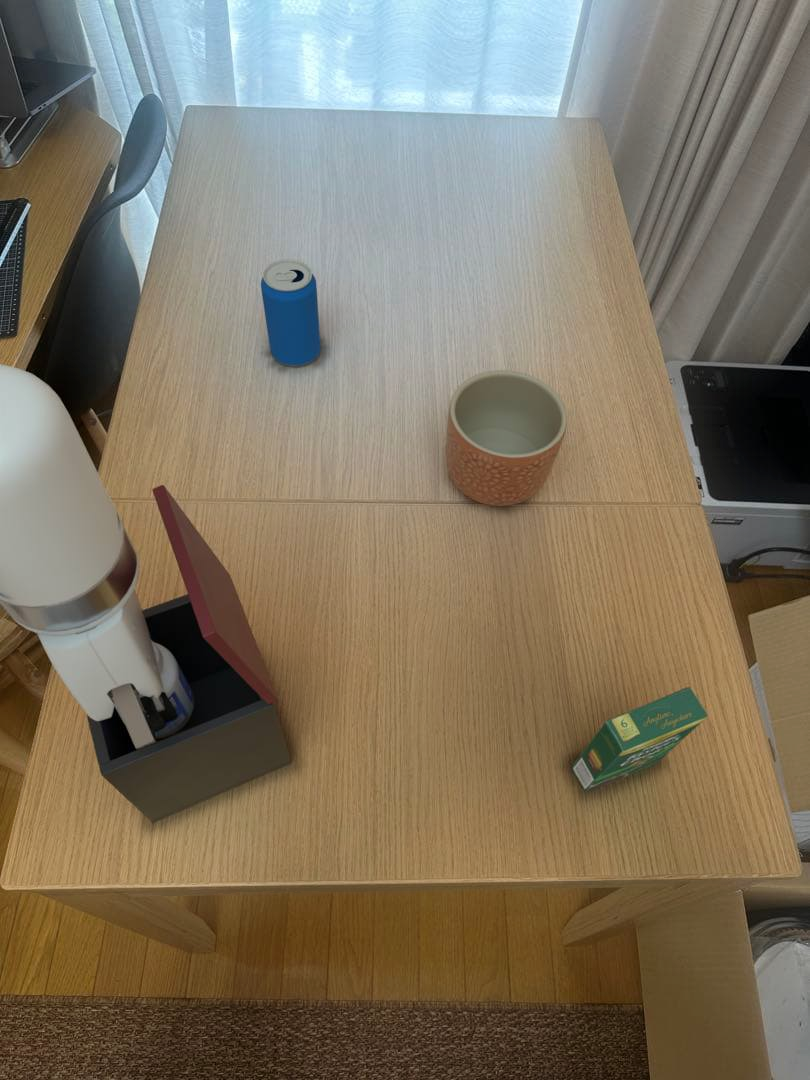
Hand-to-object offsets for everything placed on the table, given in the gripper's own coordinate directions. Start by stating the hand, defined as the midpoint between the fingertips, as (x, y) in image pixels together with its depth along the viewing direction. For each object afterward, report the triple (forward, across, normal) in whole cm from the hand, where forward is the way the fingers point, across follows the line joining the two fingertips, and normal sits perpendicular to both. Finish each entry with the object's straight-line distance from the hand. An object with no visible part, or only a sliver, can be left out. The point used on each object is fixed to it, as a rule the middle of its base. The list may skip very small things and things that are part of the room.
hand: (145, 686), depth 56 cm
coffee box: (+14, +18, +35) cm, 42 cm away
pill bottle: (+5, 0, 0) cm, 5 cm away
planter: (+14, -16, +41) cm, 46 cm away
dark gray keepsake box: (+14, 0, +2) cm, 14 cm away
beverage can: (+14, -44, +27) cm, 53 cm away
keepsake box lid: (-8, 0, +7) cm, 11 cm away
